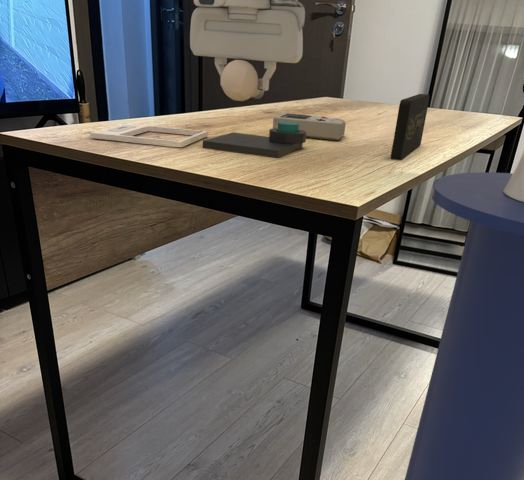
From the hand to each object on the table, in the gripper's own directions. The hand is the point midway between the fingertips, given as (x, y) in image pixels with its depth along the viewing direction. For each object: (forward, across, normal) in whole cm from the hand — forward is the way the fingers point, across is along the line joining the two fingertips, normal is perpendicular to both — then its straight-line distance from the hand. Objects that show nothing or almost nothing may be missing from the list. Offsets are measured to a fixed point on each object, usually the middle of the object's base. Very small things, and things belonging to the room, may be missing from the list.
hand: (244, 88), depth 96 cm
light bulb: (+2, 0, 0) cm, 2 cm away
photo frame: (+10, +18, +3) cm, 21 cm away
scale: (+10, -2, -1) cm, 10 cm away
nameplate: (+10, -28, -17) cm, 34 cm away
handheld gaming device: (+10, -6, -23) cm, 26 cm away
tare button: (+7, -7, -5) cm, 12 cm away
